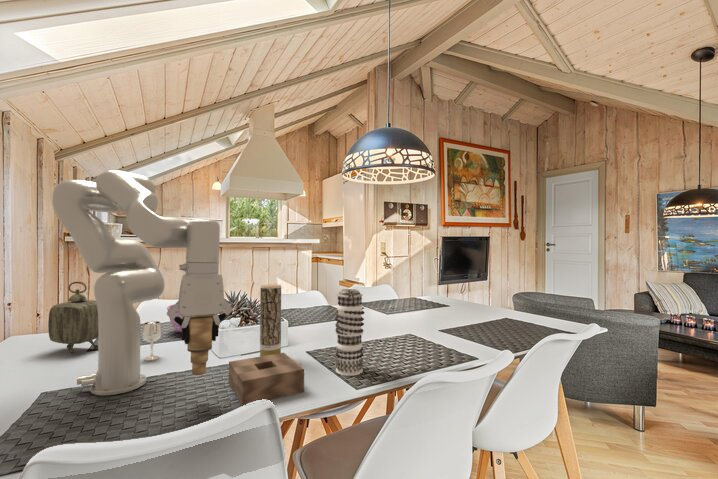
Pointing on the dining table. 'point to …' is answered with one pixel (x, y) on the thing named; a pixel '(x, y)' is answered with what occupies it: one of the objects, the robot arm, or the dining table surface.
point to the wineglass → (151, 335)
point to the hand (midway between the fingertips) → (200, 340)
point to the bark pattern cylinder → (270, 319)
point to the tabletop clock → (74, 320)
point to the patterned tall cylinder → (349, 332)
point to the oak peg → (200, 342)
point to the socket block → (265, 377)
